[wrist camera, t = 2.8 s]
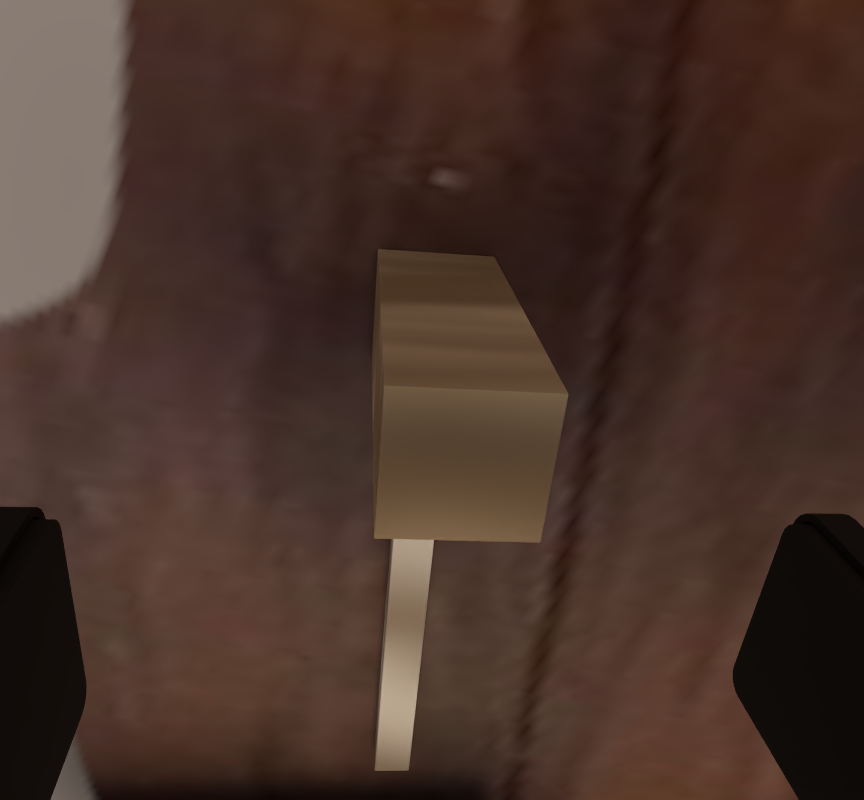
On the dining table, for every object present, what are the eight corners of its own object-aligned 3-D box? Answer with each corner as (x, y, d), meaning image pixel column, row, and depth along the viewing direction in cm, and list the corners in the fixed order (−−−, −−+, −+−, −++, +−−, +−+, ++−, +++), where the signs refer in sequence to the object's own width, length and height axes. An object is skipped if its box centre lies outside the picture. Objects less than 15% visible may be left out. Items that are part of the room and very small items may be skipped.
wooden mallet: (378, 248, 19) (384, 385, 12) (494, 256, 19) (568, 393, 12) (349, 746, 27) (343, 1003, 20) (431, 746, 27) (453, 999, 20)
